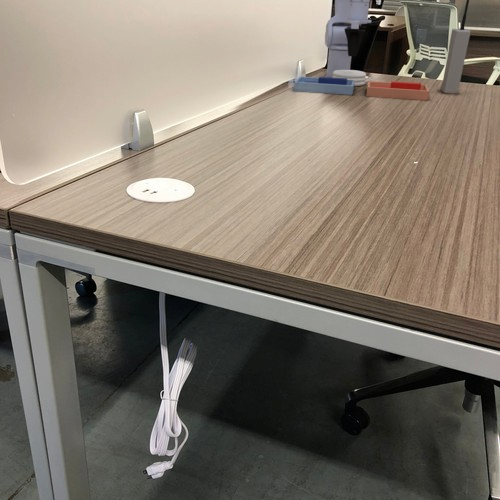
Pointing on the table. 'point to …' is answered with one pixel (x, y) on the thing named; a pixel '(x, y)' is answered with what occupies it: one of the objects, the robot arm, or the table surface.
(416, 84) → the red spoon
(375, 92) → the red bin
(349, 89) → the blue bin
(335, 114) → the table surface
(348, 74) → the coaster
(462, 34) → the vintage mobile phone
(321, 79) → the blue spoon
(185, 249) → the table surface
